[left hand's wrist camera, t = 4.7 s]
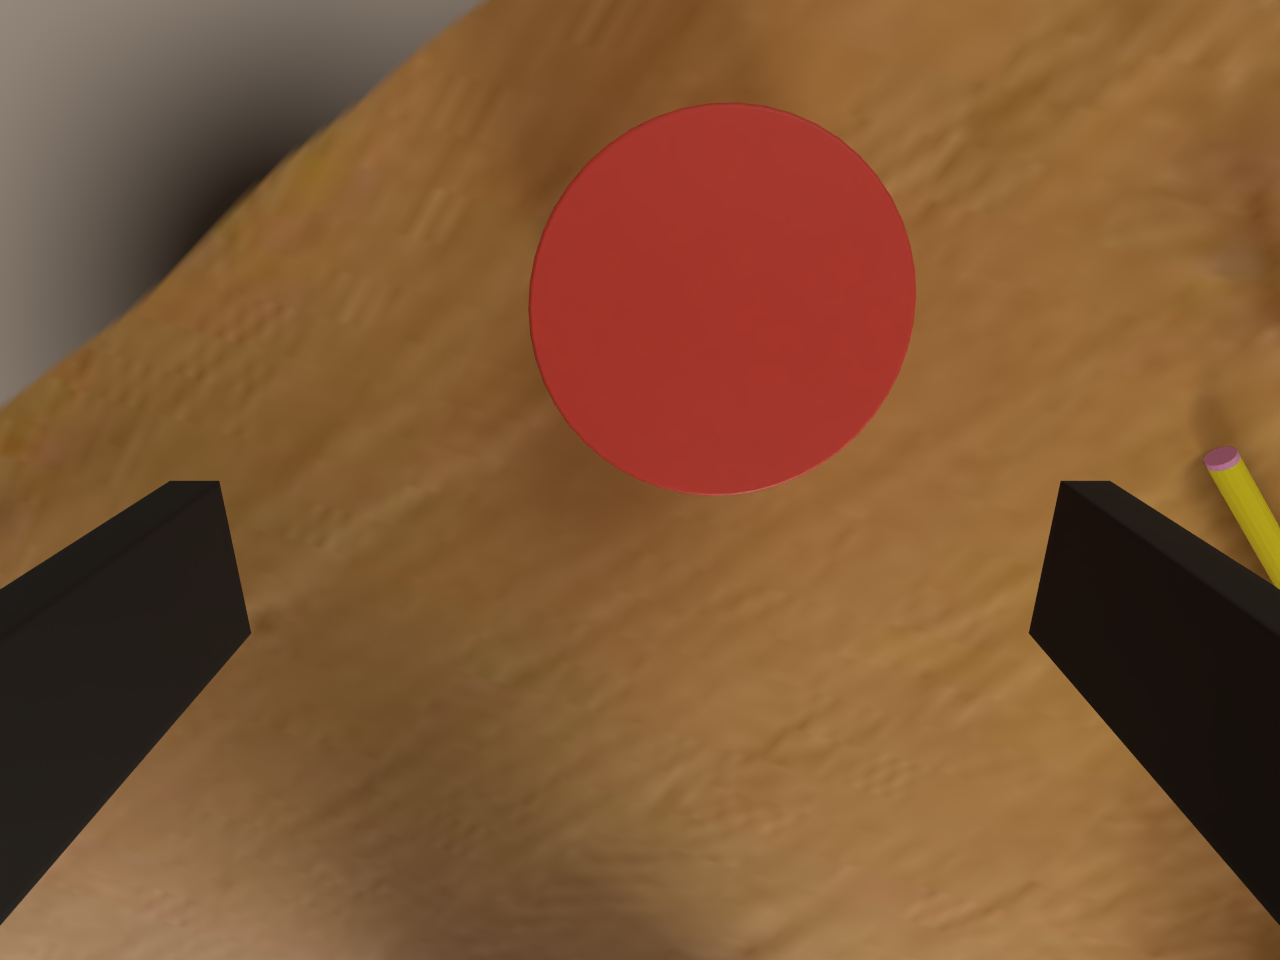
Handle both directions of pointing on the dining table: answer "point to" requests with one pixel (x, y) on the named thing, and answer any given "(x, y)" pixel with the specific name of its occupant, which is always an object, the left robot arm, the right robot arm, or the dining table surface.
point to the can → (722, 299)
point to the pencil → (1247, 507)
